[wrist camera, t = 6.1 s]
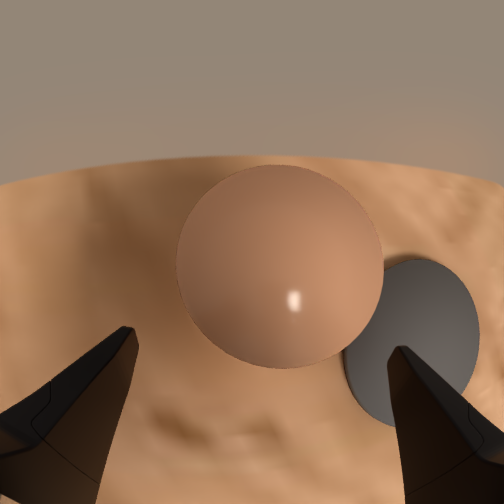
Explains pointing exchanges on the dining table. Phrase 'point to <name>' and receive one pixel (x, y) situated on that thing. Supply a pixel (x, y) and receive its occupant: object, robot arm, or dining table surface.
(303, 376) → the dining table surface
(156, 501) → the dining table surface
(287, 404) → the dining table surface
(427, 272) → the mat
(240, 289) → the tan rounded cylinder
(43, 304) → the dining table surface
